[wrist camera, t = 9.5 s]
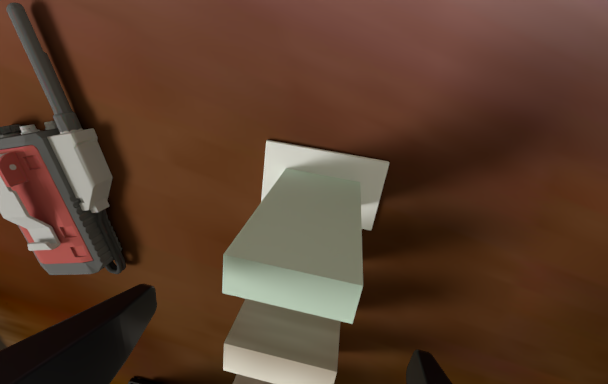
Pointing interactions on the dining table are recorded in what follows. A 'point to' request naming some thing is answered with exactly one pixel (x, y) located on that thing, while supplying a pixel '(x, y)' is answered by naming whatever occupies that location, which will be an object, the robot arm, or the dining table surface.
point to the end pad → (328, 171)
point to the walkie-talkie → (57, 179)
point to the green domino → (301, 247)
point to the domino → (282, 345)
